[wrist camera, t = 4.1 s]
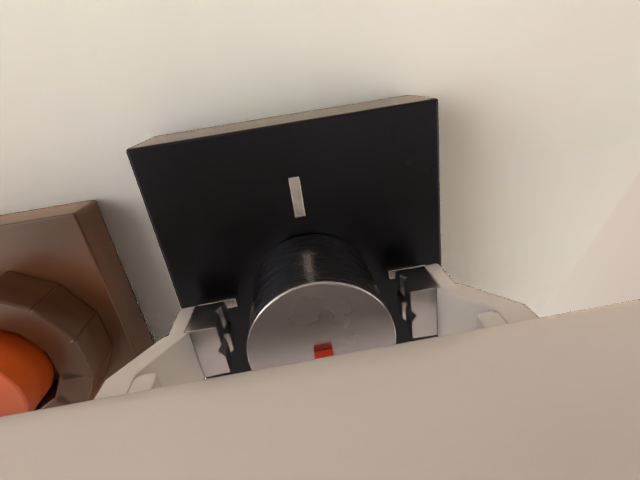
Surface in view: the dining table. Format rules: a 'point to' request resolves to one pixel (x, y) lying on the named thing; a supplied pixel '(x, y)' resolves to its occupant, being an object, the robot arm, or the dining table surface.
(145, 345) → the button box
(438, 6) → the dining table surface
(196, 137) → the hob panel
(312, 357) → the hob knob
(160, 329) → the dining table surface
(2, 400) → the button
